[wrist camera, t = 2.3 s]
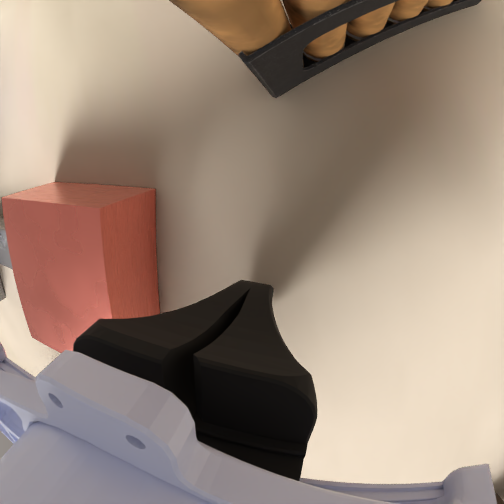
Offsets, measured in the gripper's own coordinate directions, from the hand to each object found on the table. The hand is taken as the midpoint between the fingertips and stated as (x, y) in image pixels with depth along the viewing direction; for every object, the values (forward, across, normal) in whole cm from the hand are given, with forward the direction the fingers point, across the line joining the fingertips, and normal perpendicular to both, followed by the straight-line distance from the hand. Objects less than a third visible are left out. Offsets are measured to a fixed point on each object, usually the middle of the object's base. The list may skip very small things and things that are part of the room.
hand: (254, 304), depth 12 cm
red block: (+1, +8, 0) cm, 9 cm away
